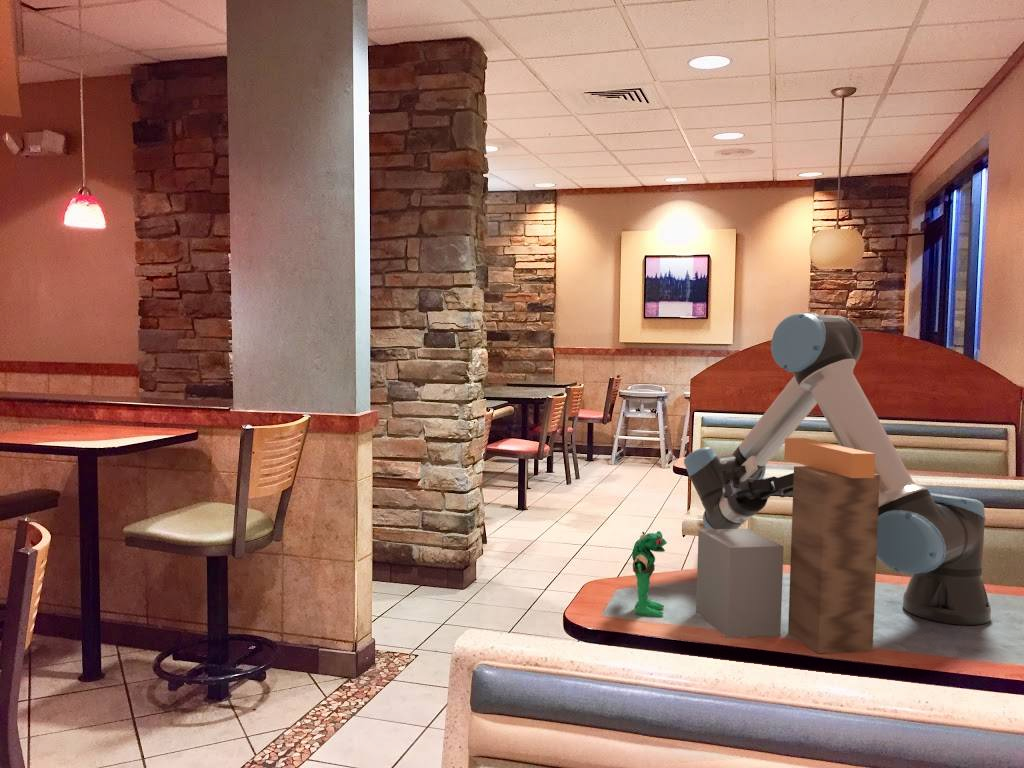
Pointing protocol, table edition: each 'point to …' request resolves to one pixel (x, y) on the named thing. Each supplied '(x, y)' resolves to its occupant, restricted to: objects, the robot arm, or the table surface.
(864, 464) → the orange rectangular bar
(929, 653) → the table surface
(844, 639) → the post
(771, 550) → the grey upright cuboid
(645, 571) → the toy
